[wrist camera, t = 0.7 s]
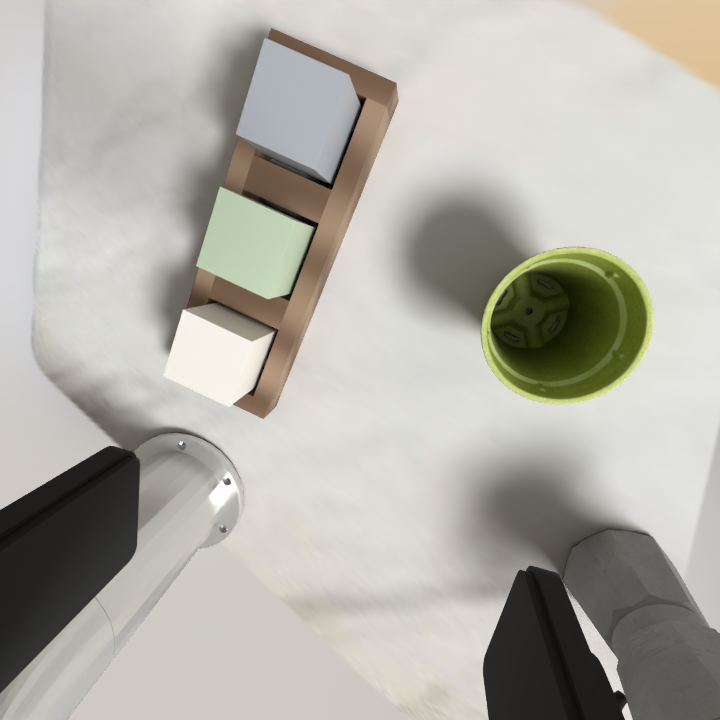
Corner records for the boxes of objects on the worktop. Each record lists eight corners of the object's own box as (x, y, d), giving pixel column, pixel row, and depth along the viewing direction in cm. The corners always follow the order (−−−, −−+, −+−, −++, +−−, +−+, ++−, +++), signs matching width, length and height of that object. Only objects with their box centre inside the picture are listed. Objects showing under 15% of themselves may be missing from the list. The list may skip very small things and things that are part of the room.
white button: (255, 386, 34) (228, 407, 29) (199, 360, 34) (163, 376, 29) (276, 330, 33) (252, 341, 28) (217, 302, 33) (183, 309, 28)
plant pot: (548, 387, 32) (592, 430, 24) (445, 338, 33) (454, 363, 24) (615, 283, 30) (691, 291, 22) (502, 230, 30) (534, 218, 22)
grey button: (331, 184, 29) (314, 169, 24) (265, 155, 29) (235, 134, 25) (361, 107, 28) (349, 74, 23) (291, 76, 28) (264, 37, 23)
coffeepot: (618, 490, 34) (827, 732, 16) (714, 545, 34) (1027, 846, 16) (513, 609, 38) (592, 899, 21) (598, 658, 38) (749, 990, 21)
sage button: (290, 293, 32) (267, 299, 27) (229, 265, 32) (196, 265, 27) (315, 227, 30) (295, 221, 25) (251, 198, 30) (219, 186, 26)
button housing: (275, 406, 36) (263, 418, 34) (186, 364, 37) (166, 372, 34) (398, 100, 29) (396, 83, 26) (285, 51, 29) (270, 28, 26)
